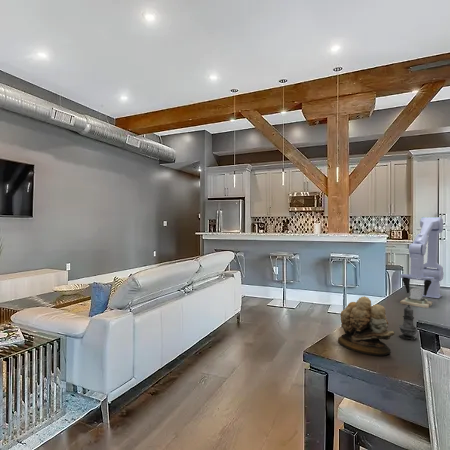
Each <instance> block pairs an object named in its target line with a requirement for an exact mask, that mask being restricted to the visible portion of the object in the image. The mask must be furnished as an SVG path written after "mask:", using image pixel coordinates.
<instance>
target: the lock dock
mask: <svg viewBox="0 0 450 450" xmlns="http://www.w3.org/2000/svg"><path fill="white" fill-rule="evenodd" d="M399 304H400V305H406V306H408V304H409V305H410V306H413V307H419V308H424V309H428V308H430V307H431V306H432V305H433V304H434V302H433V301H431V300H428V298H424V297H423V301H417V300H411V299H410V296H408V297H404V299H402V300H400V301H399Z"/></svg>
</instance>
